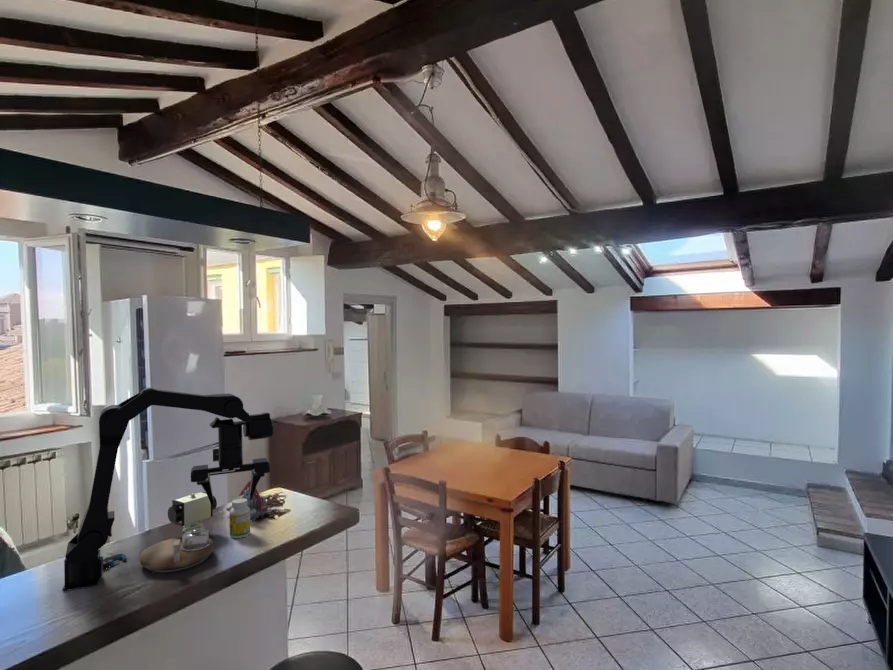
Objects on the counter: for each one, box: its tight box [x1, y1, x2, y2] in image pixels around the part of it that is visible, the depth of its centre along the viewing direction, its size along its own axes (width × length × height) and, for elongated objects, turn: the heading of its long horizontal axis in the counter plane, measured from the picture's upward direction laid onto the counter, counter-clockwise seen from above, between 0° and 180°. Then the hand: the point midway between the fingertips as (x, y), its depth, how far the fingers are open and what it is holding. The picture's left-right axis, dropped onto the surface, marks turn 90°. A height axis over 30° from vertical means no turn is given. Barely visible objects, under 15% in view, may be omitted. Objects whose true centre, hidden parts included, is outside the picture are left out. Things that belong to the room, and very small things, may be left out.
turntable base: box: [145, 555, 210, 575], centre depth 126 cm, size 14×14×1 cm
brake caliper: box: [226, 479, 269, 521], centre depth 156 cm, size 11×11×12 cm
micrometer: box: [103, 553, 128, 570], centre depth 123 cm, size 12×2×5 cm
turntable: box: [139, 536, 214, 570], centre depth 126 cm, size 16×16×5 cm
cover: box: [181, 528, 211, 552], centre depth 128 cm, size 7×7×4 cm
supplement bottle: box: [228, 499, 251, 539], centre depth 142 cm, size 5×5×10 cm
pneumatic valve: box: [167, 491, 218, 535], centre depth 141 cm, size 6×12×12 cm, turn 148°
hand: (231, 502), depth 133 cm, fingers open, 9 cm apart
